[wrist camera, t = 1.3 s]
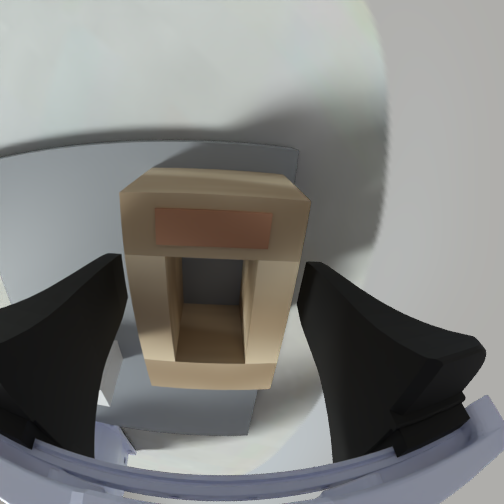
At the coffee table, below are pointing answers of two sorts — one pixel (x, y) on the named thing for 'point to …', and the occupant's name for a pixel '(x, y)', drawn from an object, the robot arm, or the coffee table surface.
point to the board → (111, 241)
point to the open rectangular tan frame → (215, 247)
